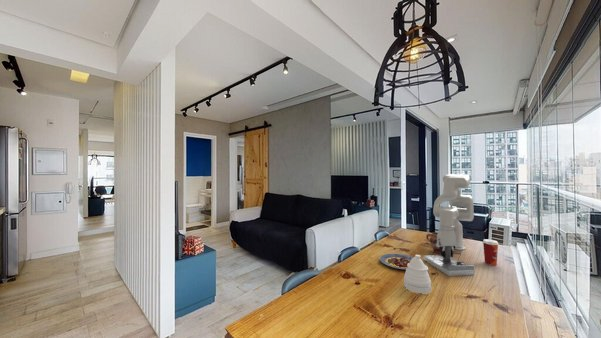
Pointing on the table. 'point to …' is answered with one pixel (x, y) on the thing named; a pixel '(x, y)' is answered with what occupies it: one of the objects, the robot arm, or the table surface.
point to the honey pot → (417, 276)
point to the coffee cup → (490, 251)
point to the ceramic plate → (396, 260)
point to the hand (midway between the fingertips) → (446, 256)
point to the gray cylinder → (447, 254)
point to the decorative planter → (434, 241)
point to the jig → (449, 266)
